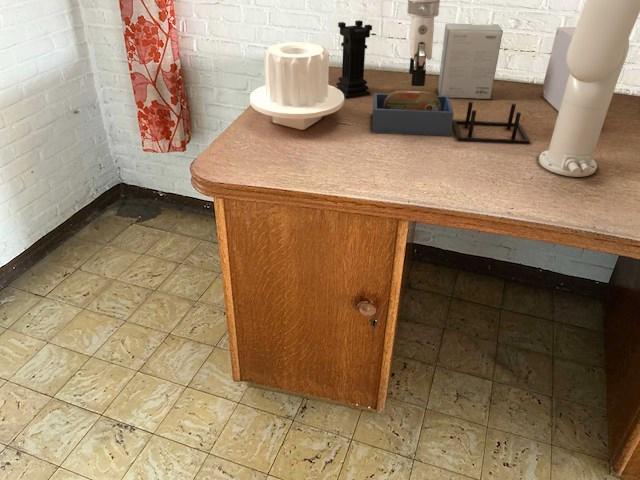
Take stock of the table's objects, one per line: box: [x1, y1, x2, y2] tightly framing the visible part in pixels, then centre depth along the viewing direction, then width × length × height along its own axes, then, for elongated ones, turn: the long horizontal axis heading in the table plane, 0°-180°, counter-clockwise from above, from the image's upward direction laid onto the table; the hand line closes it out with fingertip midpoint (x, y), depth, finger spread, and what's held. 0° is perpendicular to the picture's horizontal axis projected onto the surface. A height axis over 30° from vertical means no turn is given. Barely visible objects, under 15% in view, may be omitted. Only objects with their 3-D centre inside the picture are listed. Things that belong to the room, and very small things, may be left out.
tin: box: [383, 90, 441, 111], centre depth 143 cm, size 15×3×8 cm, turn 85°
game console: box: [542, 26, 576, 112], centre depth 150 cm, size 6×27×20 cm, turn 2°
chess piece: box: [334, 19, 373, 99], centre depth 161 cm, size 8×8×20 cm
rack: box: [452, 101, 530, 145], centre depth 140 cm, size 12×18×7 cm, turn 85°
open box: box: [371, 92, 454, 137], centre depth 144 cm, size 12×20×6 cm, turn 85°
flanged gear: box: [249, 41, 345, 131], centre depth 142 cm, size 25×25×19 cm
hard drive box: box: [437, 23, 504, 100], centre depth 160 cm, size 16×8×20 cm, turn 84°
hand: (416, 79), depth 139 cm, fingers open, 9 cm apart
